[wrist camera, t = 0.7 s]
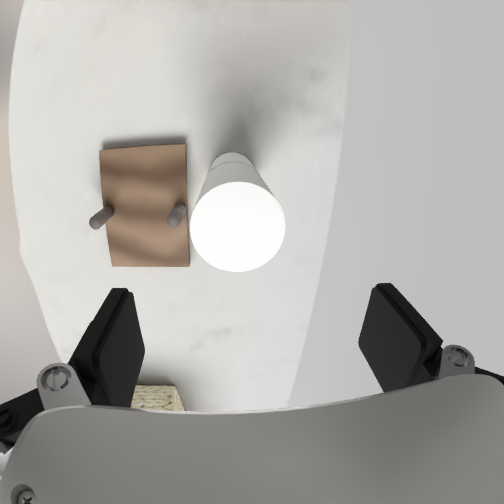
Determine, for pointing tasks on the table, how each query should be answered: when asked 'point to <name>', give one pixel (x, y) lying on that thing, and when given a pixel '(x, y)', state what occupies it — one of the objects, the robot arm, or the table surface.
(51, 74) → the table surface
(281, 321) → the table surface
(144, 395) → the storage basket
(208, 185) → the cylindrical container
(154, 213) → the board
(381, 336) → the robot arm
